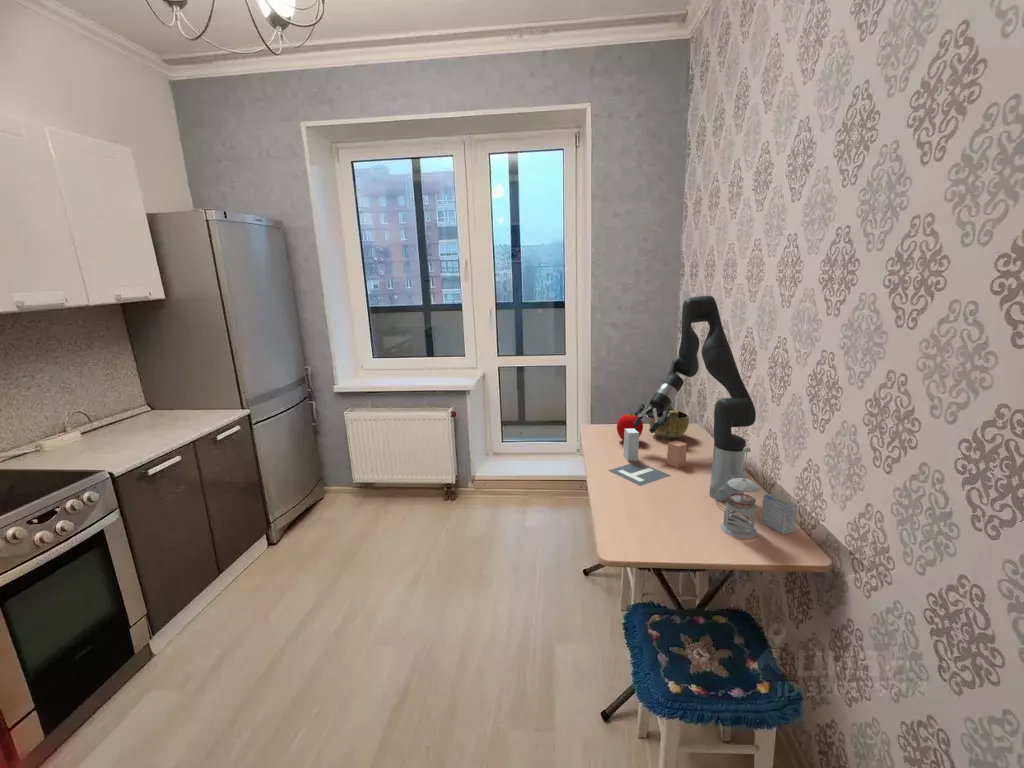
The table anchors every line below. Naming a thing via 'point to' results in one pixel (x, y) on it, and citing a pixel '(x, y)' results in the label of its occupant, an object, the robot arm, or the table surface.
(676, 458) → the peach block
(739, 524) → the french press
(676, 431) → the ceramic bowl
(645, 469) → the letter card
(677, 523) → the table surface
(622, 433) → the red apple
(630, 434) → the skincare box
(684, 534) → the table surface
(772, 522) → the medicine box
